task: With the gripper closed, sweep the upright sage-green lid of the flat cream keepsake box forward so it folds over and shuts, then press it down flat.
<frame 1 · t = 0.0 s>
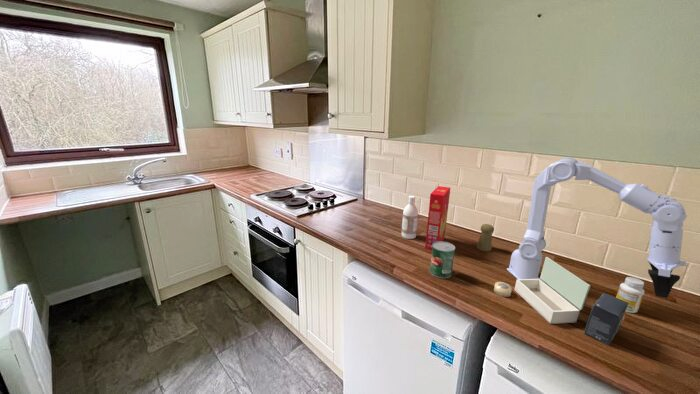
hand: (660, 290, 79), 11 cm above the countertop, tool pointing down, fingers open, 7 cm apart
cream domed disc: (502, 292, 94), on the countertop
canned tomato: (440, 273, 106), on the countertop
box: (601, 332, 78), on the countertop
food packaging: (435, 243, 129), on the countertop
supplement bottle: (625, 308, 88), on the countertop
bath foam: (408, 236, 136), on the countertop
olive pepper mill: (483, 248, 125), on the countertop
lid: (562, 281, 87), point 8 cm above the countertop, hinge at 92.0°
keepsake box: (542, 304, 89), on the countertop
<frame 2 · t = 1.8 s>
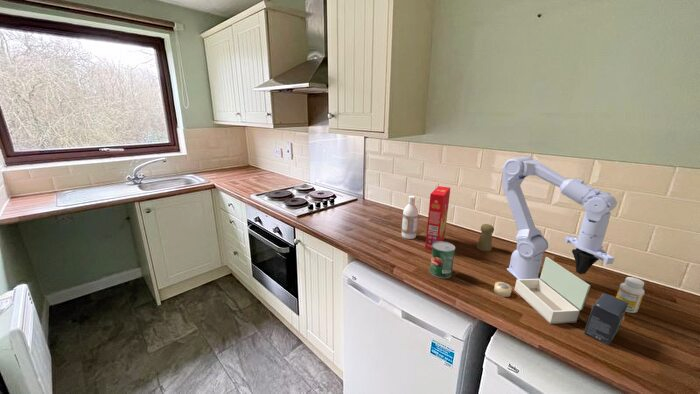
hand: (580, 272, 88), 10 cm above the countertop, tool pointing down, fingers closed
nothing on the countertop moved.
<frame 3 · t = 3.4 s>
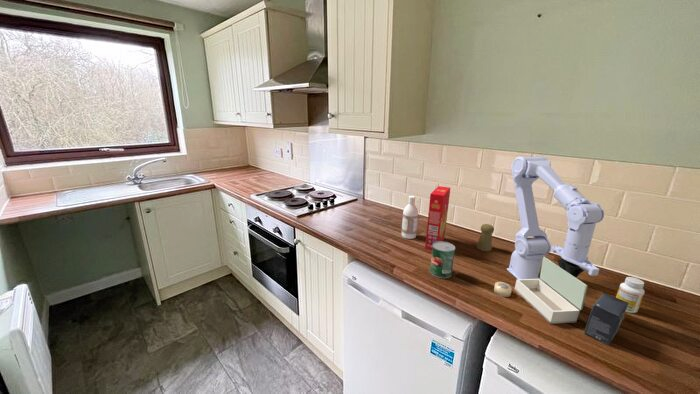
hand: (566, 283, 87), 8 cm above the countertop, tool pointing down, fingers closed, pressing on lid
lid: (561, 281, 86), point 8 cm above the countertop, hinge at 85.4°, touching gripper
everything else where it was.
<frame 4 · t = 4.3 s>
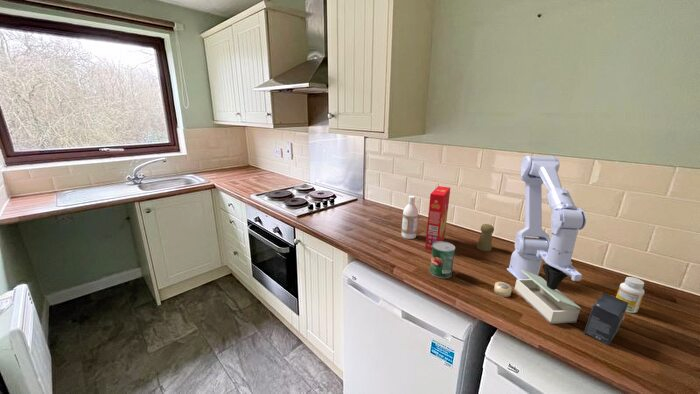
hand: (551, 288, 87), 6 cm above the countertop, tool pointing down, fingers closed, pressing on lid
lid: (548, 288, 87), point 6 cm above the countertop, hinge at 22.2°, touching gripper
everything else where it was.
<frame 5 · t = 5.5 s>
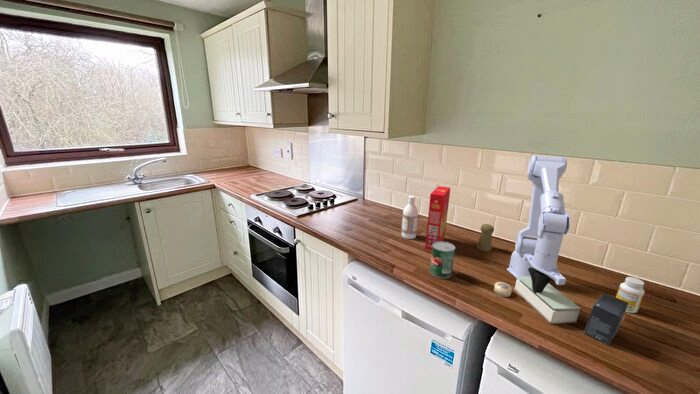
hand: (537, 291, 87), 5 cm above the countertop, tool pointing down, fingers closed, pressing on lid
lid: (546, 291, 87), point 5 cm above the countertop, hinge at 3.3°, touching gripper
everything else where it was.
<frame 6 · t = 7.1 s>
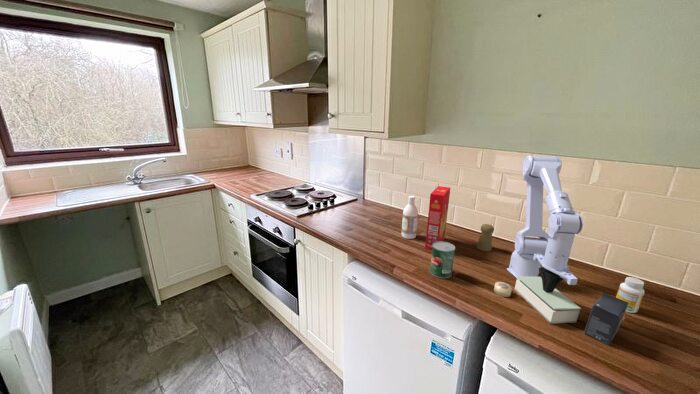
hand: (547, 291, 87), 5 cm above the countertop, tool pointing down, fingers closed, pressing on lid
lid: (546, 291, 87), point 5 cm above the countertop, hinge at 3.1°, touching gripper
everything else where it was.
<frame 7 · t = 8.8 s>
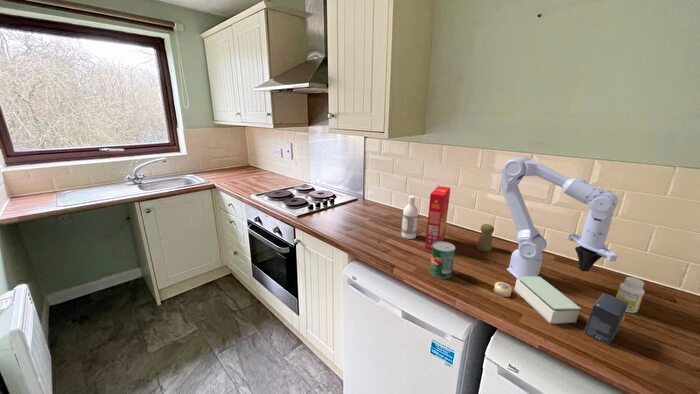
hand: (583, 270, 90), 10 cm above the countertop, tool pointing down, fingers closed
lid: (546, 291, 87), point 5 cm above the countertop, hinge at 3.1°
everything else where it was.
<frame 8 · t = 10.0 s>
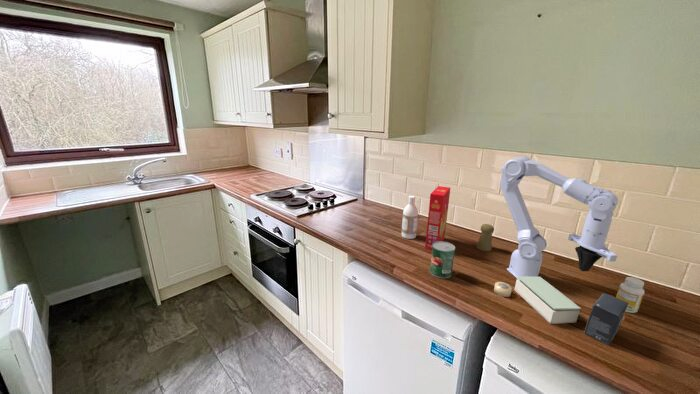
hand: (583, 270, 90), 10 cm above the countertop, tool pointing down, fingers closed
nothing on the countertop moved.
at the end: lid at +3° (first picture: +92°); lid touching nothing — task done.
